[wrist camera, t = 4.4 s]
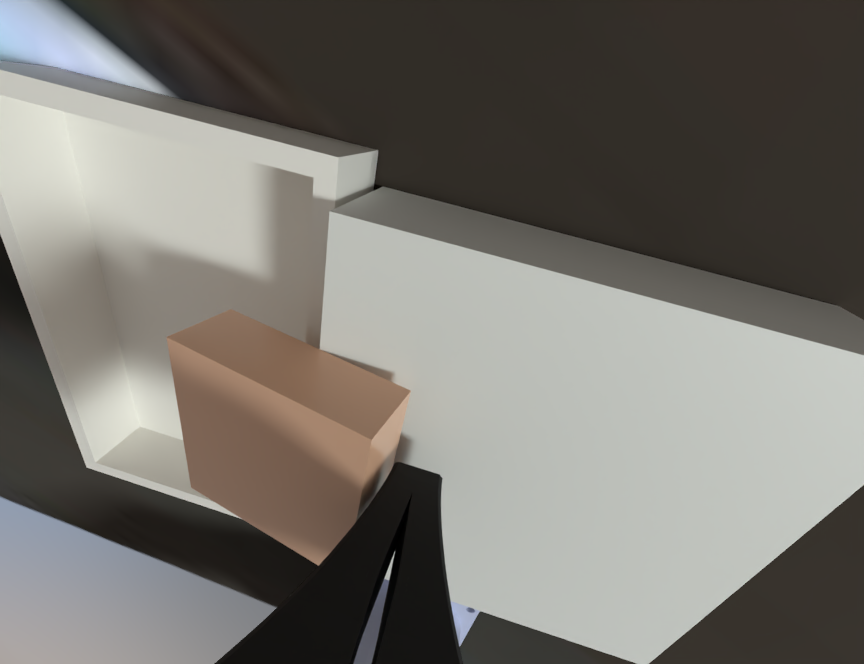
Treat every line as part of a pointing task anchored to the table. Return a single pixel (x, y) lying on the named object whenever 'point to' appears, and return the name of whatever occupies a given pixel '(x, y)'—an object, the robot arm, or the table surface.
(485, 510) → the board
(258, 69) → the table surface
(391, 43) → the table surface
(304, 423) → the tile
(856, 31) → the table surface
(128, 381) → the tray
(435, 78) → the table surface
